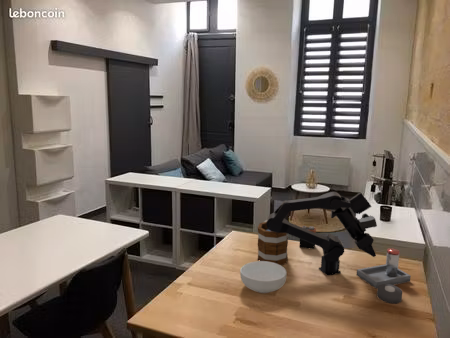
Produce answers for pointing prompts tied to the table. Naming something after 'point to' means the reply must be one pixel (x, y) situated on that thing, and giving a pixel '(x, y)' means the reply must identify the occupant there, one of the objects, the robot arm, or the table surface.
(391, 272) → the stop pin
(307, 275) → the table surface
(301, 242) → the battery
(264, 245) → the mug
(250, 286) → the cereal bowl
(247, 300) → the table surface
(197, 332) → the table surface
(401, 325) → the table surface
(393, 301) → the trolley wheel
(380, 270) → the tray
